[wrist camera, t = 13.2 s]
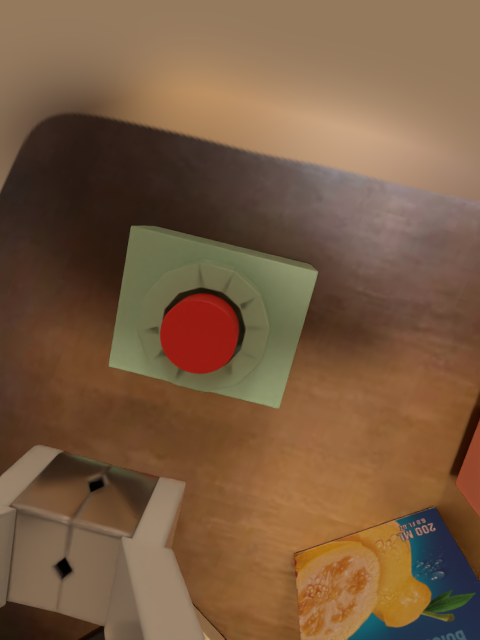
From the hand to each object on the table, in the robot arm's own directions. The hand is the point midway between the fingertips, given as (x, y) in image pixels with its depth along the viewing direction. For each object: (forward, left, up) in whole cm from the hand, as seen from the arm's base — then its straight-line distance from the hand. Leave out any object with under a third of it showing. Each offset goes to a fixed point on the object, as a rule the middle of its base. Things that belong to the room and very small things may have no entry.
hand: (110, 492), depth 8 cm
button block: (0, 0, -18) cm, 18 cm away
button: (0, 0, -12) cm, 12 cm away
